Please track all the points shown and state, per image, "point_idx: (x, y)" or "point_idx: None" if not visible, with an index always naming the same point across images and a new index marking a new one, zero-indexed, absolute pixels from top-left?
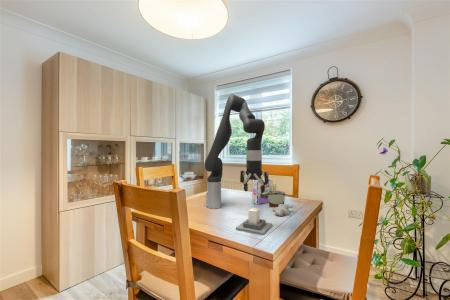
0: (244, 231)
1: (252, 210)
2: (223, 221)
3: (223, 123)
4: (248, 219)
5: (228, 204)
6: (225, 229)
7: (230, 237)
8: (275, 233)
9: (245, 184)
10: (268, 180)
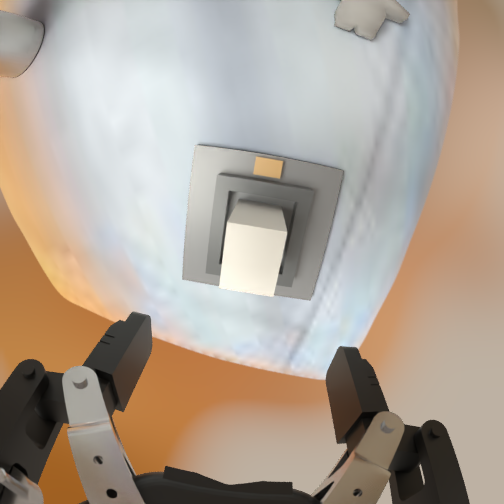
0: None
1: (245, 283)
2: (99, 196)
3: None
4: (216, 212)
5: None
6: (146, 280)
7: (195, 338)
8: (356, 263)
9: (117, 407)
10: (451, 455)
